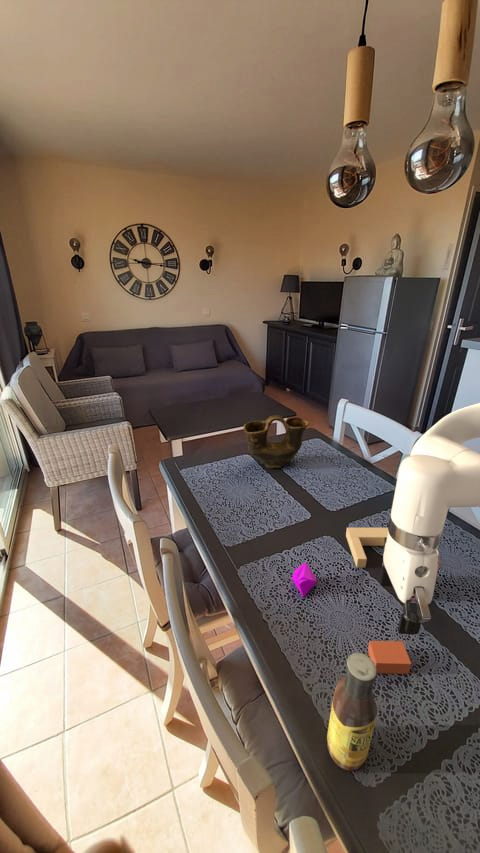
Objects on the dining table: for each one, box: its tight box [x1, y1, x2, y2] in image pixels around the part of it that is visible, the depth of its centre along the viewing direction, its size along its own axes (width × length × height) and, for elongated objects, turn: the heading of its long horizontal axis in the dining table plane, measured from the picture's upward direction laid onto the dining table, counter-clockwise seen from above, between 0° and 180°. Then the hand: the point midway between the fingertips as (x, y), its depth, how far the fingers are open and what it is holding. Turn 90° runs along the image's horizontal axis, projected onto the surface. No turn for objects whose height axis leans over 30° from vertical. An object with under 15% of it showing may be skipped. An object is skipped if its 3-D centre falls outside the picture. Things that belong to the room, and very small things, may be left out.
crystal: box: [291, 561, 318, 598], centre depth 86 cm, size 5×5×5 cm
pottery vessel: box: [242, 414, 310, 469], centre depth 138 cm, size 25×11×20 cm, turn 97°
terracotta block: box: [367, 640, 412, 675], centre depth 69 cm, size 6×4×3 cm
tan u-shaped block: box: [345, 527, 388, 569], centre depth 97 cm, size 12×12×3 cm
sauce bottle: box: [326, 652, 378, 772], centre depth 54 cm, size 6×6×20 cm
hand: (397, 607), depth 64 cm, fingers open, 9 cm apart
